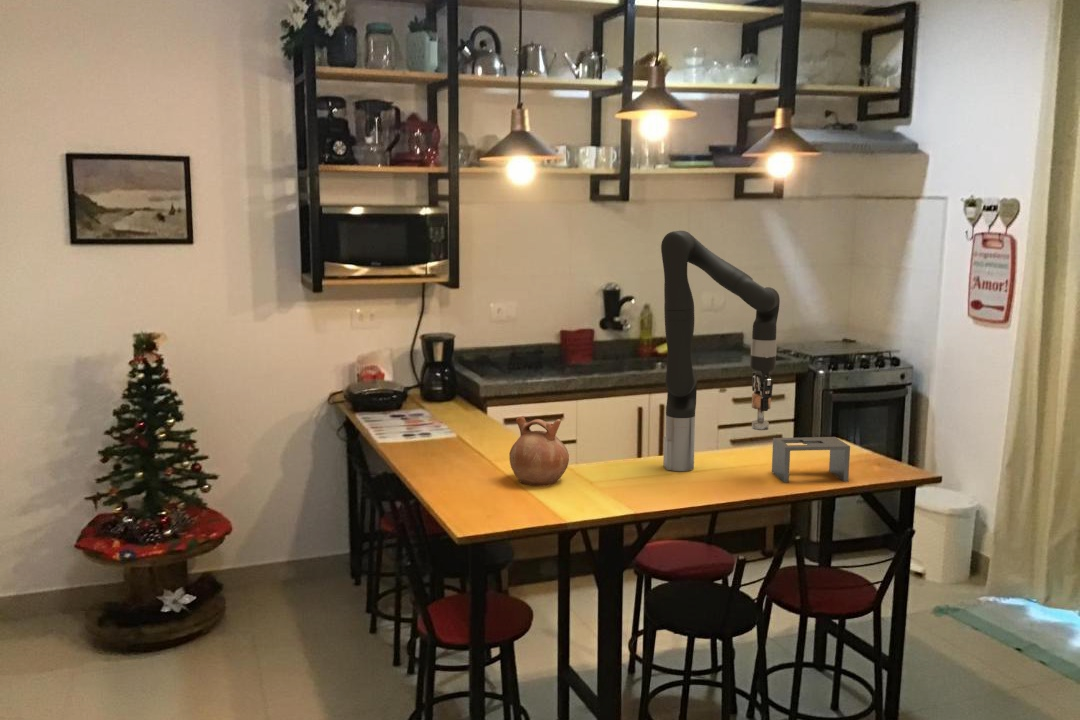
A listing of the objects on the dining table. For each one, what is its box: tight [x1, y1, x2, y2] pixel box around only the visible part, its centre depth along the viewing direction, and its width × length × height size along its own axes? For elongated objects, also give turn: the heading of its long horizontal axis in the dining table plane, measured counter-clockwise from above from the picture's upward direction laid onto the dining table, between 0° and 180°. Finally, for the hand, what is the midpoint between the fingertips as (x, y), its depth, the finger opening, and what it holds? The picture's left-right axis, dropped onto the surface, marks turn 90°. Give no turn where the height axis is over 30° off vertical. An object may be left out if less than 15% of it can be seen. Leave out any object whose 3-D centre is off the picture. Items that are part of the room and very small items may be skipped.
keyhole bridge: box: [771, 436, 851, 484], centre depth 297 cm, size 20×12×11 cm, turn 94°
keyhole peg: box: [751, 392, 772, 431], centre depth 294 cm, size 6×6×10 cm
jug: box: [508, 415, 570, 487], centre depth 293 cm, size 18×18×20 cm
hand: (761, 408), depth 294 cm, fingers closed on keyhole peg, 5 cm apart
